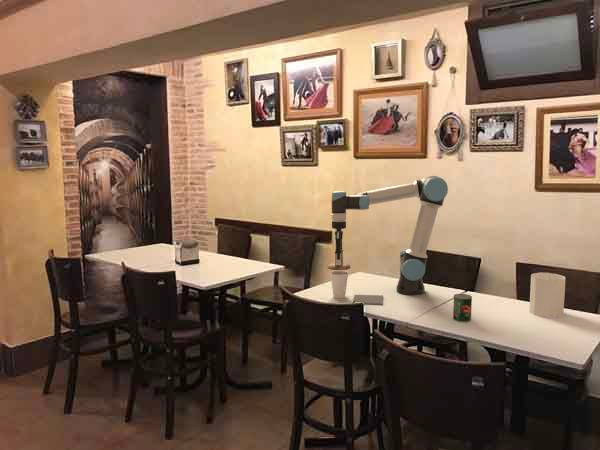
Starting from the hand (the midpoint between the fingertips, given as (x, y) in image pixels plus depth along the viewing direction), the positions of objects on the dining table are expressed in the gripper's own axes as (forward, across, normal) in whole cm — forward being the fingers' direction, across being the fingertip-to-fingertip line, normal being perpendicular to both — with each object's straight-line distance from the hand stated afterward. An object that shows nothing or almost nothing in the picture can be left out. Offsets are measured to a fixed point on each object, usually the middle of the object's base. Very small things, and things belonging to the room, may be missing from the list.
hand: (339, 264), depth 270 cm
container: (+18, +17, +99) cm, 102 cm away
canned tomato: (+18, +31, +59) cm, 69 cm away
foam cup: (+18, 0, 0) cm, 18 cm away
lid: (+2, 0, 0) cm, 2 cm away
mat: (+17, +6, +16) cm, 24 cm away
